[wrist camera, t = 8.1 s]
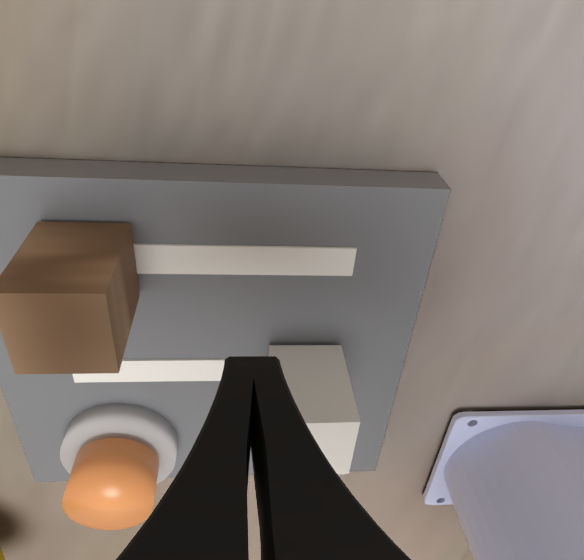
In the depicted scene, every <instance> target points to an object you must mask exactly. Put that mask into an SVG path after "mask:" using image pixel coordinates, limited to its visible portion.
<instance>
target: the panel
mask: <svg viewBox="0 0 584 560" xmlns="http://www.w3.org/2000/svg"><path fill="white" fill-rule="evenodd" d="M450 191H451V189H450V188H449V186H448V185H447V184H446V183H445V181H444V180H443V179H442V178H441V177H440V175H439V174H438V173H437V172H413V171H385V170H356V169H327V168H298V167H270V166H241V165H212V164H183V163H154V162H126V161H97V160H68V159H39V158H11V157H0V275H1V274H2V272H3V271H4V269H5V268H6V266H7V265H8V263H9V262H10V260H11V259H12V258H13V256H14V255H15V253H16V252H17V250H18V249H19V247H20V246H21V244H22V243H23V242H24V240H25V239H26V237H27V236H28V234H29V233H30V231H31V230H32V228H33V227H34V225H35V224H36V223H37V222H84V223H130V224H131V228H132V236H133V244H134V253H135V261H136V269H137V277H138V285H139V294H140V296H139V300H138V304H137V307H136V311H135V315H134V319H133V322H132V326H131V330H130V333H129V337H128V341H127V345H126V348H125V352H124V356H123V359H122V363H121V367H120V371H119V373H96V374H15V373H14V370H13V367H12V364H11V361H10V358H9V355H8V352H7V349H6V346H5V343H4V340H3V337H2V334H1V331H0V386H1V389H2V392H3V394H4V397H5V400H6V403H7V405H8V408H9V411H10V414H11V417H12V419H13V422H14V425H15V428H16V430H17V433H18V436H19V439H20V442H21V444H22V447H23V450H24V453H25V455H26V458H27V461H28V464H29V467H30V469H31V472H32V475H33V478H34V480H35V482H53V481H68V480H69V476H70V473H71V470H72V467H73V463H74V460H75V457H76V454H77V453H78V451H79V450H80V449H81V448H82V447H83V446H85V445H86V444H88V443H90V442H92V441H95V440H99V439H104V438H125V439H130V440H134V441H137V442H139V443H142V444H144V445H145V446H147V447H149V448H150V449H151V450H152V451H153V452H154V453H155V454H156V456H157V457H158V460H159V471H158V478H157V484H158V483H159V482H161V481H163V480H164V479H165V478H173V477H176V475H177V474H178V472H179V470H180V469H181V467H182V465H183V464H184V462H185V460H186V458H187V456H188V455H189V453H190V451H191V449H192V447H193V445H194V443H195V441H196V439H197V437H198V435H199V433H200V431H201V429H202V427H203V425H204V422H205V420H206V418H207V415H208V413H209V411H210V408H211V406H212V403H213V401H214V398H215V396H216V393H217V390H218V387H219V384H220V381H221V377H222V373H223V369H224V362H225V359H227V358H228V357H229V356H268V355H269V345H341V346H342V350H343V354H344V358H345V362H346V366H347V370H348V374H349V378H350V382H351V386H352V390H353V394H354V399H355V403H356V407H357V411H358V415H359V419H360V426H359V430H358V435H357V439H356V444H355V448H354V453H353V457H352V462H351V466H350V471H349V472H354V471H375V470H376V466H377V462H378V458H379V455H380V451H381V447H382V444H383V440H384V436H385V432H386V429H387V425H388V421H389V418H390V414H391V410H392V406H393V403H394V399H395V395H396V392H397V388H398V384H399V380H400V377H401V373H402V369H403V366H404V362H405V358H406V354H407V351H408V347H409V343H410V340H411V336H412V332H413V328H414V325H415V321H416V317H417V314H418V310H419V306H420V302H421V299H422V295H423V291H424V288H425V284H426V280H427V276H428V273H429V269H430V265H431V262H432V258H433V254H434V250H435V247H436V243H437V239H438V236H439V232H440V228H441V224H442V221H443V217H444V213H445V210H446V206H447V202H448V198H449V195H450ZM248 475H254V472H253V462H252V453H251V450H250V462H249V474H248Z"/></svg>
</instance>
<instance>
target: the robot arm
mask: <svg viewBox="0 0 584 560" xmlns="http://www.w3.org/2000/svg"><path fill="white" fill-rule="evenodd" d="M250 450H251V453H252V462H253V472H254V481H255V490H256V499H257V508H258V517H259V526H260V541H261V560H411V559H410V558H409V557H408V556H407V555H406V554H405V553H404V552H403V551H402V550H401V549H400V548H399V547H398V546H397V545H396V544H395V543H394V542H393V541H392V540H391V539H390V538H389V537H388V536H387V535H386V534H385V532H384V531H383V530H382V529H381V528H380V527H379V526H378V525H377V524H376V522H375V521H374V520H373V519H372V518H371V516H370V515H369V514H368V513H367V512H366V510H365V509H364V508H363V507H362V506H361V504H360V503H359V502H358V501H357V500H356V499H355V497H354V496H353V495H352V494H351V492H350V491H349V489H348V488H347V487H346V485H345V484H344V483H343V481H342V480H341V479H340V477H339V476H338V474H337V473H336V472H335V470H334V469H333V467H332V466H331V464H330V463H329V461H328V460H327V458H326V457H325V455H324V454H323V452H322V450H321V449H320V447H319V445H318V444H317V442H316V440H315V439H314V437H313V435H312V434H311V432H310V430H309V428H308V426H307V425H306V423H305V421H304V419H303V417H302V415H301V413H300V411H299V409H298V407H297V405H296V403H295V401H294V398H293V396H292V394H291V392H290V389H289V387H288V384H287V382H286V379H285V377H284V374H283V371H282V368H281V364H280V360H279V359H278V358H277V357H276V356H229V357H228V358H227V359H225V362H224V369H223V373H222V377H221V381H220V384H219V387H218V390H217V393H216V396H215V398H214V401H213V403H212V406H211V408H210V411H209V413H208V415H207V418H206V420H205V422H204V425H203V427H202V429H201V431H200V433H199V435H198V437H197V439H196V441H195V443H194V445H193V447H192V449H191V451H190V453H189V455H188V456H187V458H186V460H185V462H184V464H183V465H182V467H181V469H180V470H179V472H178V474H177V475H176V477H175V479H174V480H173V482H172V484H171V485H170V487H169V488H168V490H167V491H166V493H165V494H164V496H163V497H162V499H161V500H160V502H159V504H158V505H157V506H156V508H155V509H154V511H153V512H152V514H151V515H150V516H149V518H148V519H147V520H146V522H145V523H144V524H143V526H142V527H141V528H140V530H139V531H138V532H137V534H136V535H135V536H134V538H133V539H132V540H131V542H130V543H129V544H128V545H127V547H126V548H125V549H124V551H123V552H122V553H121V554H120V555H119V557H118V558H117V559H116V560H249V559H248V520H247V486H248V474H249V462H250ZM423 500H424V502H425V504H427V505H448V504H453V505H454V508H455V510H456V513H457V516H458V518H459V521H460V524H461V526H462V529H463V532H464V534H465V537H466V540H467V543H468V545H469V548H470V551H471V553H472V556H473V559H474V560H584V409H576V410H527V411H478V412H459V413H457V414H455V415H454V416H453V418H452V419H451V422H450V425H449V428H448V430H447V433H446V436H445V438H444V441H443V444H442V446H441V449H440V452H439V454H438V457H437V460H436V462H435V465H434V468H433V470H432V473H431V476H430V478H429V481H428V484H427V486H426V489H425V492H424V494H423Z"/></svg>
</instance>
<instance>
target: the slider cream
mask: <svg viewBox="0 0 584 560" xmlns="http://www.w3.org/2000/svg"><path fill="white" fill-rule="evenodd" d="M268 356H276V357H277V358H278V359H279V360H280V364H281V368H282V371H283V374H284V377H285V379H286V382H287V384H288V387H289V389H290V392H291V394H292V396H293V398H294V401H295V403H296V405H297V407H298V409H299V411H300V413H301V415H302V417H303V419H304V421H305V423H306V425H307V426H308V428H309V430H310V432H311V434H312V435H313V437H314V439H315V440H316V442H317V444H318V445H319V447H320V449H321V450H322V452H323V454H324V455H325V457H326V458H327V460H328V461H329V463H330V464H331V466H332V467H333V469H334V470H335V472H336V473H337V474H349V471H350V466H351V462H352V457H353V453H354V448H355V444H356V439H357V435H358V430H359V426H360V419H359V415H358V411H357V407H356V403H355V399H354V394H353V390H352V386H351V382H350V378H349V374H348V370H347V366H346V362H345V358H344V354H343V350H342V346H341V345H269V355H268Z"/></svg>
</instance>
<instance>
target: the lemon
mask: <svg viewBox="0 0 584 560" xmlns="http://www.w3.org/2000/svg"><path fill="white" fill-rule="evenodd" d="M0 560H5V559H4V555H3V553H2V550H1V549H0Z"/></svg>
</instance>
